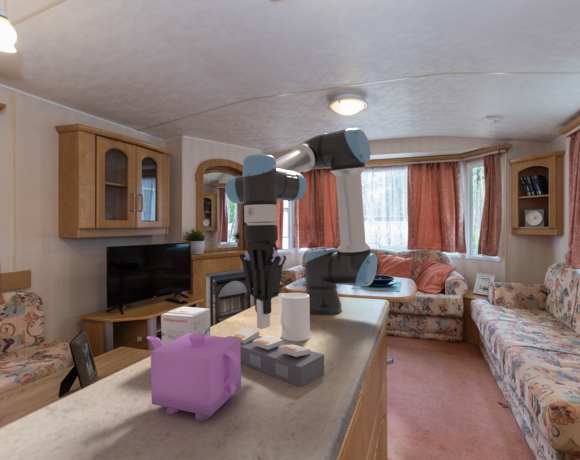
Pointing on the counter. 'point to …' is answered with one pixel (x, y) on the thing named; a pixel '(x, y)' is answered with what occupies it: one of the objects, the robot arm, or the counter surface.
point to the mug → (295, 317)
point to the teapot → (195, 373)
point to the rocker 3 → (294, 350)
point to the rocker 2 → (268, 342)
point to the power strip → (282, 363)
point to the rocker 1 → (245, 335)
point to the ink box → (184, 322)
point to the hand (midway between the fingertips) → (263, 326)
